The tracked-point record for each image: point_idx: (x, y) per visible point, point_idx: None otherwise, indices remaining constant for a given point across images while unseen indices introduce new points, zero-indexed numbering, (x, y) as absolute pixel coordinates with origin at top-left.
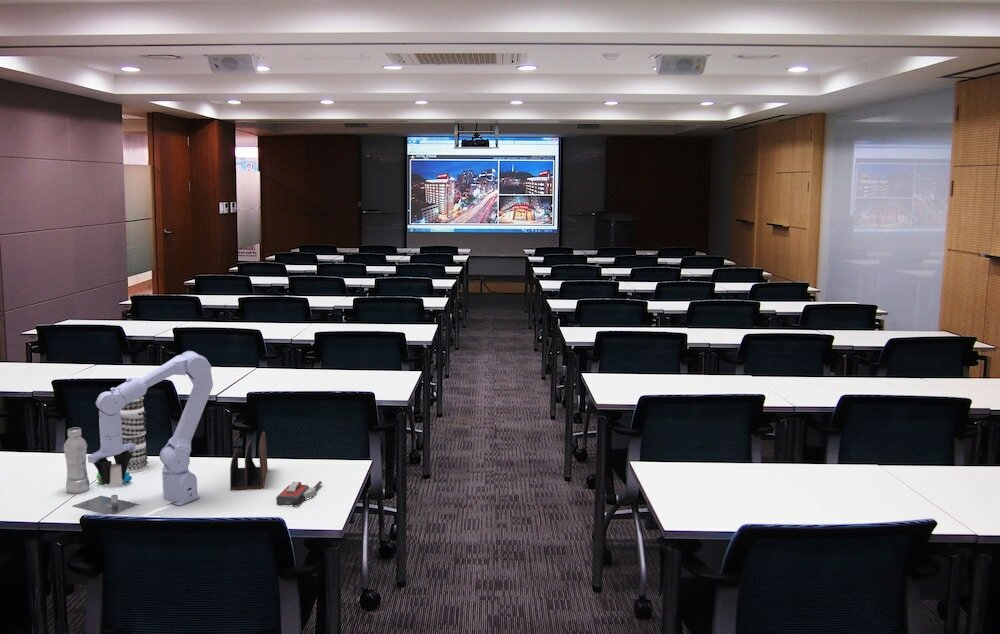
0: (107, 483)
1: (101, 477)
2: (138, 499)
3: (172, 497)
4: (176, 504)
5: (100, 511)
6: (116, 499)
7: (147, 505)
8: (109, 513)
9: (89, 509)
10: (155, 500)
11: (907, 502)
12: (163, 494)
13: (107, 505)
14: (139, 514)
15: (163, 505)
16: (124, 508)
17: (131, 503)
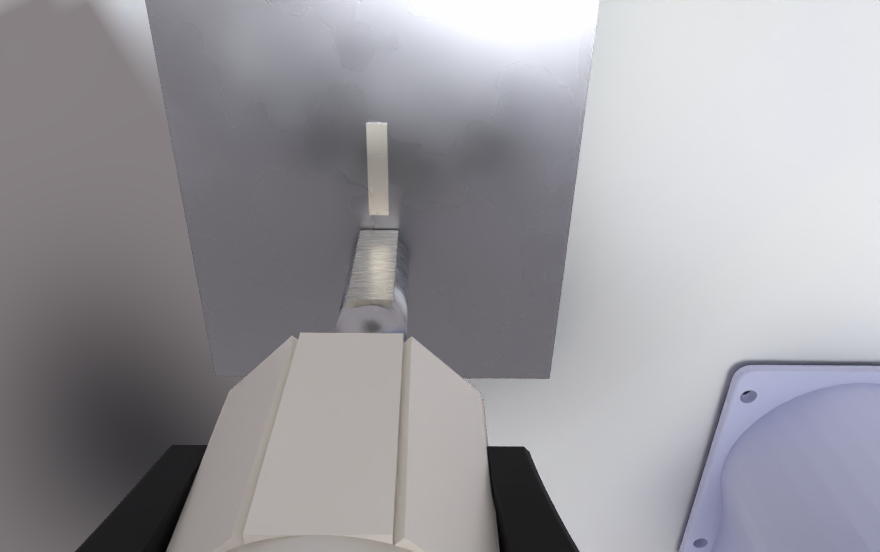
0: None
1: (110, 527)
2: (739, 185)
3: (737, 531)
4: (684, 541)
5: (220, 223)
6: None
7: (616, 370)
8: (239, 337)
9: (180, 62)
10: (752, 338)
11: None
12: (776, 454)
13: (371, 154)
14: None
15: (658, 463)
16: None
17: (536, 308)
